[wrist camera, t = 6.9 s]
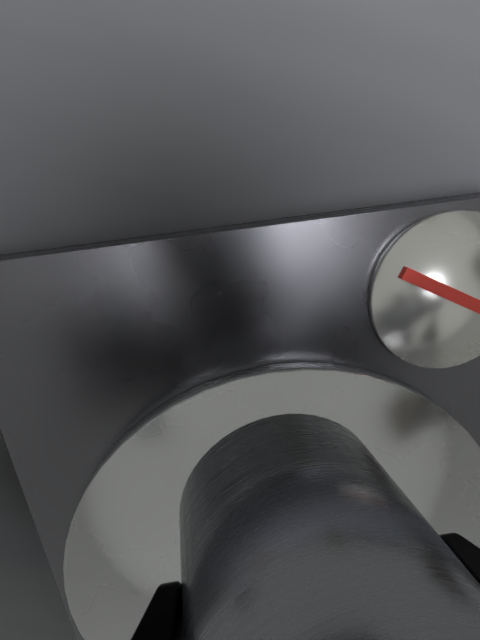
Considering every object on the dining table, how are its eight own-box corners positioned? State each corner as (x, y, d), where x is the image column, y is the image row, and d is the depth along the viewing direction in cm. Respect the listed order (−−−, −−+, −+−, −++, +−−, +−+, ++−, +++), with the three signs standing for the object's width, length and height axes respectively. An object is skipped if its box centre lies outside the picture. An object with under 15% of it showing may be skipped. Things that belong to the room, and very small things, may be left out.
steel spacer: (376, 559, 10) (545, 847, 6) (194, 604, 10) (217, 973, 5) (376, 396, 9) (606, 602, 4) (163, 435, 8) (154, 734, 4)
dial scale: (452, 609, 16) (497, 682, 14) (122, 671, 16) (107, 760, 13) (481, 192, 11) (561, 189, 9) (-11, 256, 10) (-77, 273, 8)
